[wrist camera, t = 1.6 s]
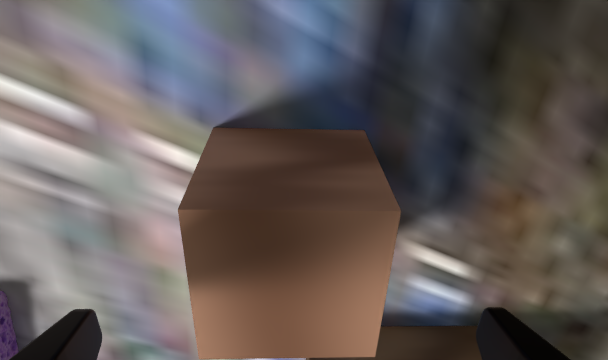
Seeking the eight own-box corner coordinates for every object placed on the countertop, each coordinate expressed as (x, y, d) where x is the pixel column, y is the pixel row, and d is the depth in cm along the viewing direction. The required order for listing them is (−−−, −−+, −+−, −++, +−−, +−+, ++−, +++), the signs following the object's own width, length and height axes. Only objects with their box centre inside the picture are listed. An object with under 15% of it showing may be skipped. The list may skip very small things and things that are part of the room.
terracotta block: (363, 129, 13) (400, 210, 9) (350, 247, 16) (375, 356, 12) (213, 126, 13) (177, 209, 9) (223, 247, 16) (198, 359, 11)
